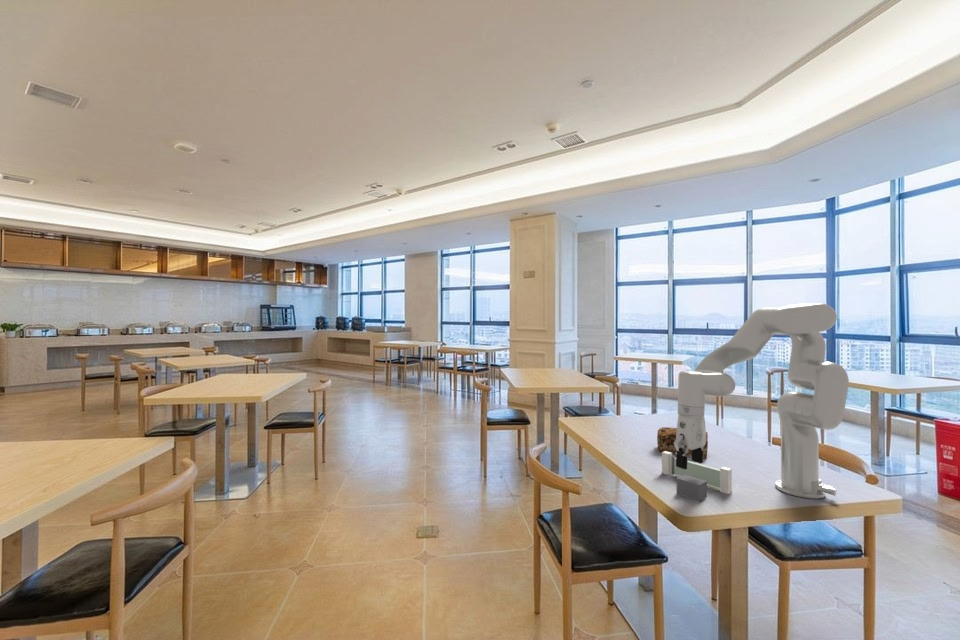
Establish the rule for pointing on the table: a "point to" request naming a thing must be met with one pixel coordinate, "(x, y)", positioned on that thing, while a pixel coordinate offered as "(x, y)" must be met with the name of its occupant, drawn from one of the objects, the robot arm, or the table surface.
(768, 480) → the table surface
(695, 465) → the door
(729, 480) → the door frame
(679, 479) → the block
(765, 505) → the table surface
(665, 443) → the bread
